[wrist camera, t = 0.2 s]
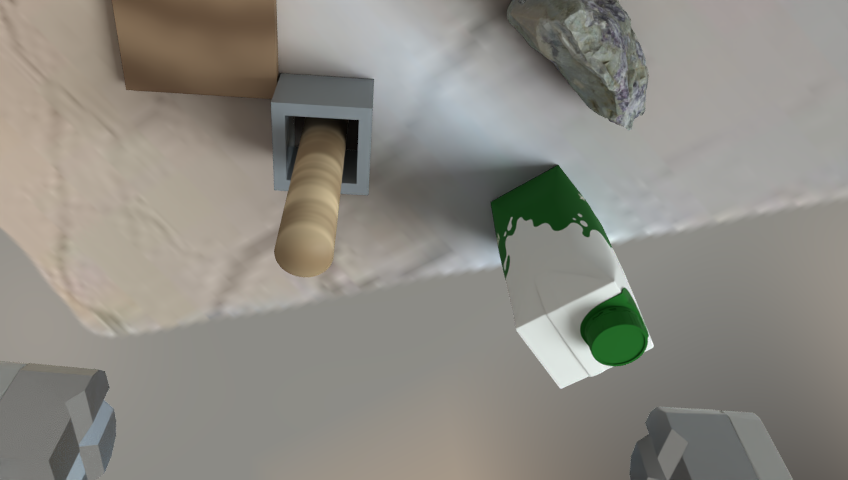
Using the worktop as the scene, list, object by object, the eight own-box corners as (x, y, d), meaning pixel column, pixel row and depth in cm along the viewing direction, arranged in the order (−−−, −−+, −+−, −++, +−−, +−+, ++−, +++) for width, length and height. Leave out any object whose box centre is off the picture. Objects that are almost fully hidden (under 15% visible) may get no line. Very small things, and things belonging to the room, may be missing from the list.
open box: (281, 73, 57) (270, 102, 52) (373, 79, 57) (372, 108, 52) (283, 156, 61) (274, 190, 56) (369, 161, 62) (368, 195, 57)
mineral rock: (641, 103, 60) (681, 157, 51) (517, 126, 60) (538, 183, 52) (639, -53, 53) (687, -20, 44) (499, -25, 53) (520, 13, 45)
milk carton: (602, 220, 66) (674, 369, 50) (519, 263, 69) (561, 419, 52) (562, 151, 62) (626, 290, 45) (475, 200, 64) (505, 348, 48)
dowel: (305, 97, 58) (273, 227, 41) (349, 100, 58) (333, 230, 42) (306, 136, 60) (275, 275, 43) (347, 139, 60) (333, 278, 44)
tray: (101, -105, 49) (95, -102, 48) (273, -90, 50) (271, -87, 49) (130, 84, 57) (126, 89, 56) (279, 93, 58) (277, 99, 57)
